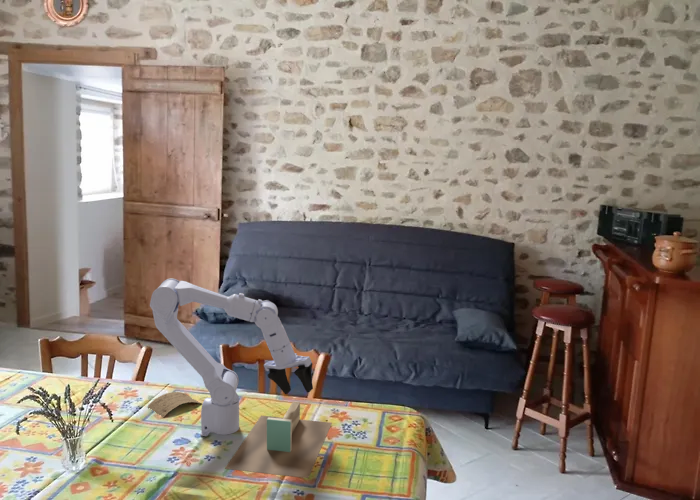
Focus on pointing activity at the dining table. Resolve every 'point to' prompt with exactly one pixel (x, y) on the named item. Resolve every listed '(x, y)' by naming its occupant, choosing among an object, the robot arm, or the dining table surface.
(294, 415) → the beige long rectangular bar
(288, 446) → the tile
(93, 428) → the dining table surface
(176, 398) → the brown curved sheet
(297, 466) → the board
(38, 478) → the dining table surface
